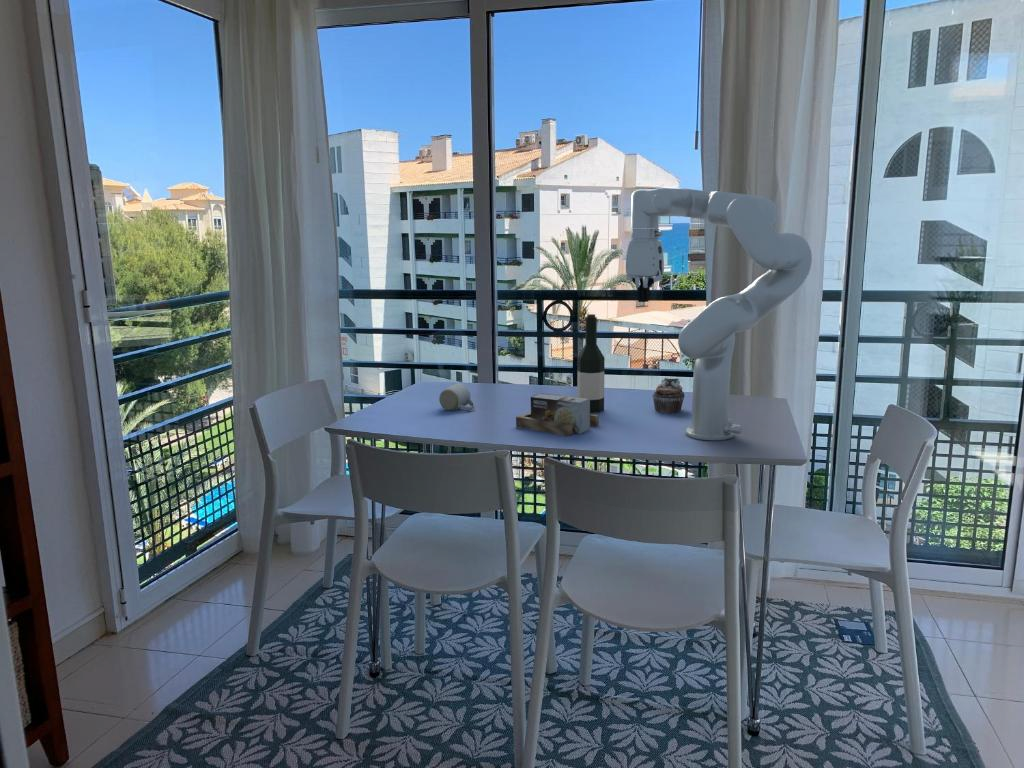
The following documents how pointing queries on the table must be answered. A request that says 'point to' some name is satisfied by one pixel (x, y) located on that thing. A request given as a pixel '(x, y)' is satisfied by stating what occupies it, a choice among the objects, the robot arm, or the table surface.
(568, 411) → the coffee box
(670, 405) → the cupcake
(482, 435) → the table surface
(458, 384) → the ceramic mug
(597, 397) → the wine bottle
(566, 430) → the u rest
